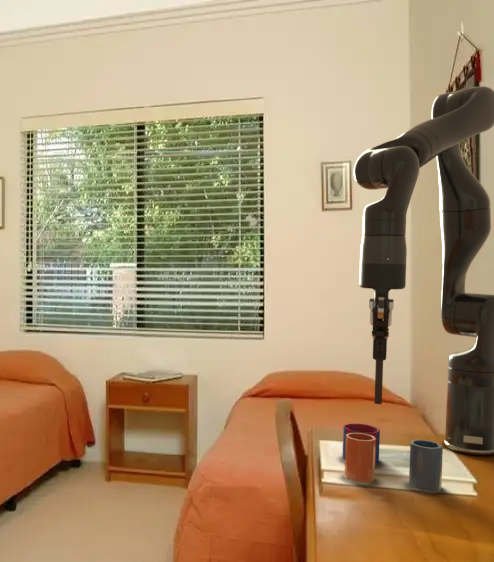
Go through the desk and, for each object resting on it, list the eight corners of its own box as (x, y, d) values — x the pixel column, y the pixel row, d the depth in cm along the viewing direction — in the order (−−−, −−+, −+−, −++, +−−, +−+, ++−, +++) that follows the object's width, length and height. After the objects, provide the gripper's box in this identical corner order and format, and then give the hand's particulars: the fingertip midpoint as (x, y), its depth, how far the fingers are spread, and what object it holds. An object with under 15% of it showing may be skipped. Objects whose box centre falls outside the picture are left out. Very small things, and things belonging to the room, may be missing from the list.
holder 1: (360, 474, 111) (361, 431, 111) (380, 483, 107) (382, 439, 106) (338, 477, 110) (339, 434, 109) (358, 486, 105) (359, 442, 105)
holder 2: (423, 482, 108) (425, 438, 107) (447, 492, 103) (449, 446, 103) (402, 485, 106) (403, 441, 106) (425, 496, 101) (427, 449, 101)
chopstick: (374, 402, 107) (376, 330, 107) (381, 403, 107) (384, 330, 106) (374, 403, 106) (376, 331, 106) (381, 404, 106) (384, 331, 105)
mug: (381, 460, 119) (382, 427, 119) (371, 475, 111) (372, 439, 110) (346, 454, 123) (347, 421, 122) (334, 467, 114) (335, 432, 114)
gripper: (407, 262, 98) (403, 367, 99) (405, 262, 110) (401, 355, 111) (358, 261, 101) (354, 363, 102) (361, 261, 113) (358, 352, 114)
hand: (379, 358), depth 106 cm, fingers closed on chopstick, 1 cm apart
